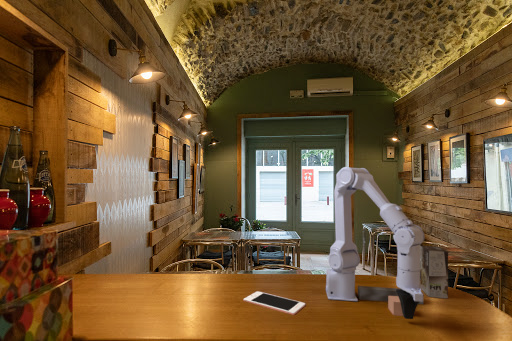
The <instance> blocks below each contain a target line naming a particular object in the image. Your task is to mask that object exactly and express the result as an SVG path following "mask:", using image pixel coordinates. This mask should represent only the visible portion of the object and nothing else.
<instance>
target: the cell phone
mask: <svg viewBox="0 0 512 341" xmlns="http://www.w3.org/2000/svg"><path fill="white" fill-rule="evenodd" d="M243 302H247V303H249V304H254V305H255V306H256V305H257V306H260V307H263V308H268V309H271V310H275V311H278V312H281V313H286V314H288V315H292V316H294V315H297V313H299V312H300V311H301V310H302V309H303V308H305V306H306V303H305V302H302V301H298V300H294V299H290V298H287V297H282V296H278V295H274V294H270V293H266V292H263V291H258V290H257V291H255V292H253V293H251V294H250V295H248V296H246V297H245V298H243Z"/></svg>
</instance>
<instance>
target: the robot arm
mask: <svg viewBox="0 0 512 341" xmlns="http://www.w3.org/2000/svg"><path fill="white" fill-rule="evenodd" d="M357 190H360V191H363V192H365V194H366V195H367V196H368V197H369V198H370V199H371V201H373V203H374V204H375V205H376V206H377V207H378V208H379V210H380V211H379V216H380V217H381V219H382V220H383V221H384V222H385V224H386V225H387V226H388V228H389V229H390V231H391V232H392V233H393V236H392V237H393V240H394V242H395V244H396V250H397V266H396V267H397V268H396V269H397V270H396V272H397V275H396V276H395V277H396V278H395V283H396V287H397V288H398V289H396V292H397V294H398V297H399V300H400V303H401V308H402V313H403V317H404V319H408V320H413V319H414V317H415V313H416V310H417V307H418V305H419V304H418V303H419V302H423V303H424V293H423V294H422V293H421V292H422V289H425V287H424V286H423V285H422V284H420V246H421V244H422V243H424V241H425V233H424V231H423V229H422V227H421V226H419V225H417V224H414V222H413V221H412V220H411V219H410V218H408V217H407V215H406V214H405V212H403V211H402V210H403V208H402V207H401V206H400V205H398V204H396V203H391V202H390V201H389V199H388V198H387V197H386V195H385V194H384V192H383V191H382V190H381V189H380V187H379V185H378V183H376V181H375V180H374V176H373V175H372V174H371V173H370V171H369V170H368V169H366V168H364V167H360V168H358V167H349V166H344V167H342V168H341V169H339V171H337V173H336V183H335V187H334V193H333V194H334V196H333V197H334V222H335V223H334V224H335V225H334V226H335V241H334V242H333V244H331V246H330V248H329V249H330V250H329V254H328V258H327V259H328V264H329V266H330V268H327V269H326V276H325V277H326V281H325V293H326V296H327V299H328V300H335V301H348V302H349V301H350V302H358V301H359V300H358V299H359V298H357V297H358V296H357V295H356V291H355V290H356V288H355V287H356V270H357V267H358V266H359V265H360V263H361V258H360V255H359V252H358V247H357V245H356V243H354V242H353V218H352V195H353V194H354V193H355V192H356V191H357Z"/></svg>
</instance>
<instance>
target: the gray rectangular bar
mask: <svg viewBox="0 0 512 341" xmlns="http://www.w3.org/2000/svg"><path fill="white" fill-rule="evenodd" d="M396 289H399V287H397V288H396V287H395V288H394V287H381V286H366V285H365V286H364V285H357V297H358V299H359V300H363V301H377V302H388V296H398V294H397V292H396ZM421 293H422V294H423V295H424V291H423V292H422V291H421ZM418 305H424V301H423V302H419V303H418Z"/></svg>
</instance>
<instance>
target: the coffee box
mask: <svg viewBox="0 0 512 341" xmlns="http://www.w3.org/2000/svg"><path fill="white" fill-rule="evenodd" d="M420 284H422V285H423V286H424V287H425V289H421V291H423V293H424V294H425V295H426V296H428V297H430V298H439V299H449V250H446V249H443V248H441V247H440V246H433V245H420Z"/></svg>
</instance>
